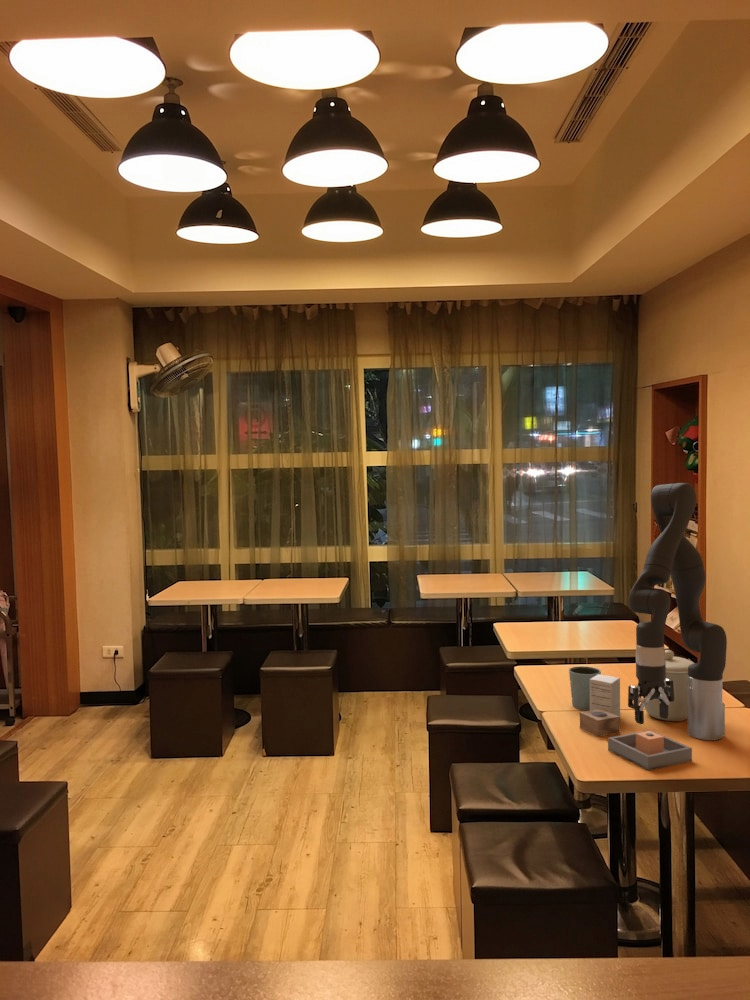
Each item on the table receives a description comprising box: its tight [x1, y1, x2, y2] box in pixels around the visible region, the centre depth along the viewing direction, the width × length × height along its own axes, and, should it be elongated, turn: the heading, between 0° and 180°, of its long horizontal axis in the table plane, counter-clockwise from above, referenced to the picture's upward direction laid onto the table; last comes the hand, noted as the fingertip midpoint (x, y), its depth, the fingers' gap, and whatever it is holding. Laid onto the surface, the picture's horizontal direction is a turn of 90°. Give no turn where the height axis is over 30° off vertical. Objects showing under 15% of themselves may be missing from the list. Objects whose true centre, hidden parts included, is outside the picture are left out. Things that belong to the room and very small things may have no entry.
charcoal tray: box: [607, 729, 693, 772], centre depth 192 cm, size 15×15×4 cm
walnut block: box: [579, 709, 620, 737], centre depth 211 cm, size 8×8×5 cm
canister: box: [642, 649, 695, 722], centre depth 223 cm, size 18×18×21 cm
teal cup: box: [568, 665, 602, 711], centre depth 234 cm, size 10×10×12 cm
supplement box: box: [589, 674, 621, 718], centre depth 222 cm, size 7×7×13 cm
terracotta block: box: [635, 730, 664, 755], centre depth 192 cm, size 5×5×5 cm
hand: (651, 720), depth 191 cm, fingers open, 8 cm apart
